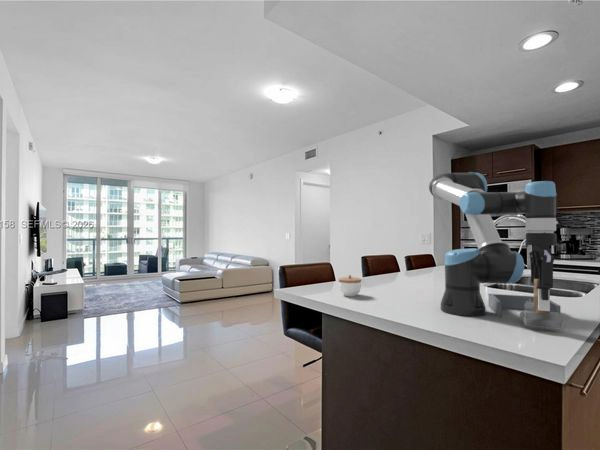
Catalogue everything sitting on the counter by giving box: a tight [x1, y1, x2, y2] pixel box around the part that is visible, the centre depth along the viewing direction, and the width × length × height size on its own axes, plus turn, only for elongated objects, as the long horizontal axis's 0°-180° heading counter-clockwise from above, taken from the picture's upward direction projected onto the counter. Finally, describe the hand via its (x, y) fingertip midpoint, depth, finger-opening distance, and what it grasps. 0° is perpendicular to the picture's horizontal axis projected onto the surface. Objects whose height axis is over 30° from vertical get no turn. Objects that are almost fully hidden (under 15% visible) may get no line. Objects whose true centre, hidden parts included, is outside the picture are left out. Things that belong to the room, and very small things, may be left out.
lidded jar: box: [338, 274, 362, 297], centre depth 150 cm, size 11×11×9 cm
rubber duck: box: [519, 299, 534, 320], centre depth 105 cm, size 5×7×8 cm
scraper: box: [522, 279, 563, 330], centre depth 97 cm, size 9×3×14 cm, turn 69°
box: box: [488, 293, 562, 317], centre depth 117 cm, size 18×15×5 cm
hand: (541, 308), depth 97 cm, fingers closed on scraper, 3 cm apart
